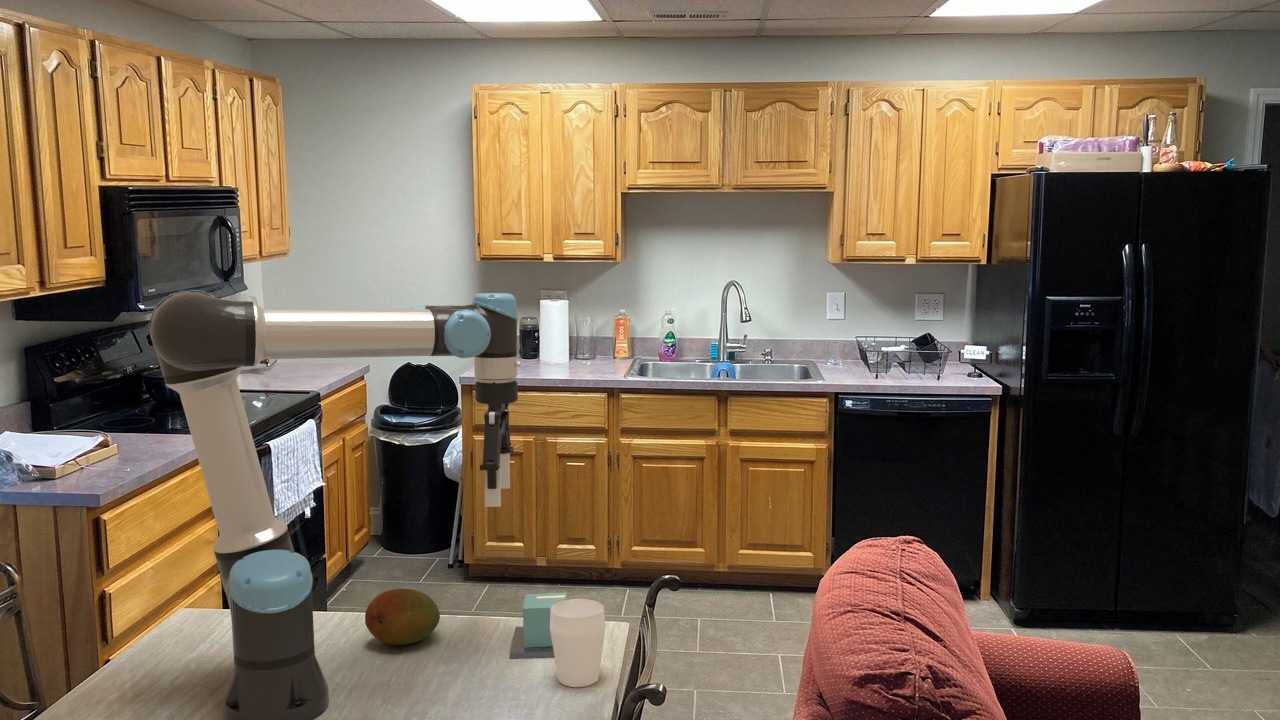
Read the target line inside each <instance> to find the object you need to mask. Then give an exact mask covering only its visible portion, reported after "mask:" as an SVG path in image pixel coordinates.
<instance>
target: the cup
mask: <svg viewBox="0 0 1280 720" xmlns="http://www.w3.org/2000/svg"><path fill="white" fill-rule="evenodd" d="M605 618H606V615H605V606H604V604H603V603H602V602H600V601H597V600H592V599H587V598H570V599H567V600H564V601H561V602H558V603H556V604H554V605H553V606H552V607H551V609H550V633H551V639H552V645H553V651H554V662H555V667H556V674H557V680H558V683H561V684H562V685H564V686H566V687H571V688H583V687H589V686H591V685H593V684H595V683H597V682H598V680H599V679H600V671H601V663H602V658H603V657H602V655H603V650H604V649H603V647H604V641H605V631H606V619H605Z"/></svg>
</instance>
